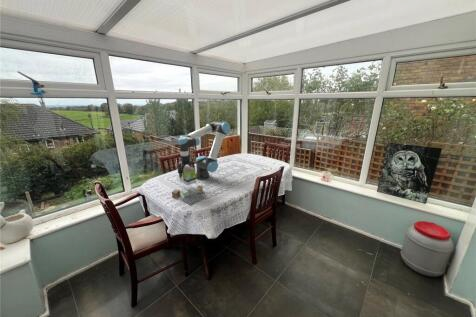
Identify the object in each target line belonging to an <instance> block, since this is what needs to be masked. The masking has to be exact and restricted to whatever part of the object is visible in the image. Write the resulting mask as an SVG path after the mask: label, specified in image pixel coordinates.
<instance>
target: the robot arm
mask: <svg viewBox="0 0 476 317" xmlns="http://www.w3.org/2000/svg"><path fill="white" fill-rule="evenodd" d="M214 132H215V136H214V140H213V143H212V144H211V145H212V146H211V147H210V148H211V149H210V152H209V154H208V155H207V156H206V155H201V156H198V157H196V158H195V163H196V165H195V163H194V160H193V158H191V156H190V150H189V148H193V147H197V146H199V145H200V144H201V143H200V141H201V140H200V139H199V138H201V137H203V136H205V135H207V134H211V133H214ZM230 132H231V124H230V123H229V122H227V121H224V120H223V121H221V120H214V121H211V122H210V123H207V124H205V126H203V127H201V128H199V129H197V130H194V131H193V132H189V133H188V134H186V135H180V136H179V138H178V146H179V147H178V148H179V154H180V160H181V161H179V162H177V163H178V165H177V174H178V175H179V174H180V176H181V179H182V180H184V178H183V173H182V172H183V169H184V166H185V165H189V166H192V167H194V168H195V172H196V180H206V179H209V178H210V173H214V172H216V171H217V170H218V168H219V163H218V156H219V153H220V151H221V150H220V149H221V146H222V143H223V141H224V138H225V137H226V136H227V134H229V133H230Z"/></svg>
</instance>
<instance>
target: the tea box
mask: <svg viewBox="0 0 476 317" xmlns="http://www.w3.org/2000/svg"><path fill="white" fill-rule="evenodd" d="M182 173H183V178H184V180H182V179H181V176H180V174H179V173H178V175H179V176H178V177H179V181H180V182H182V183H183V184H185V185H186V186H191V185H193V184H195V183H197V178H196V167H195V168H194V167H193V166H189V165H185V166H184V169H183V172H182Z"/></svg>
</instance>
